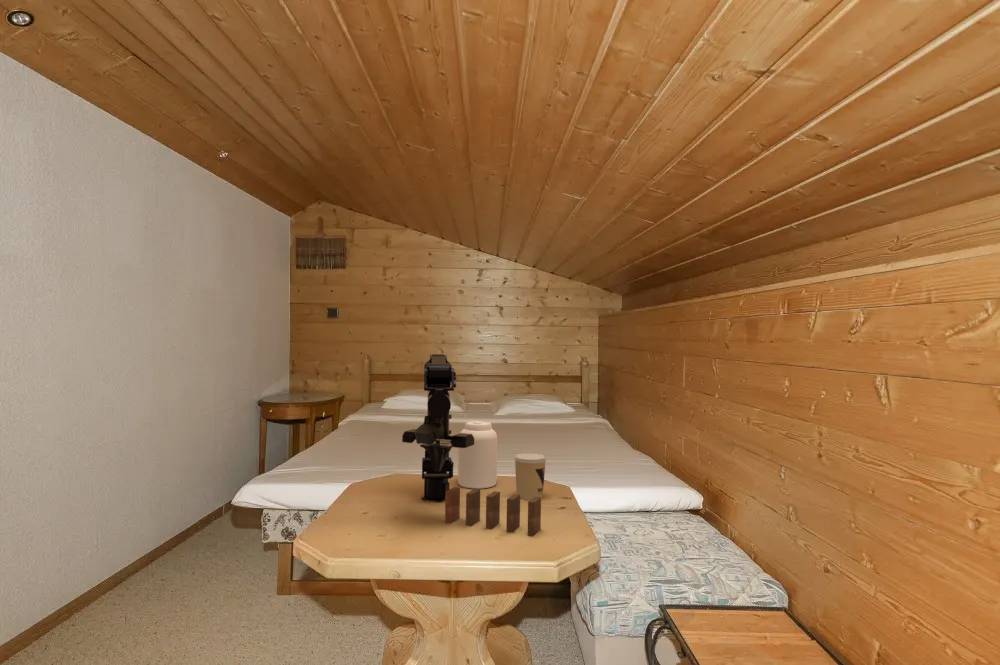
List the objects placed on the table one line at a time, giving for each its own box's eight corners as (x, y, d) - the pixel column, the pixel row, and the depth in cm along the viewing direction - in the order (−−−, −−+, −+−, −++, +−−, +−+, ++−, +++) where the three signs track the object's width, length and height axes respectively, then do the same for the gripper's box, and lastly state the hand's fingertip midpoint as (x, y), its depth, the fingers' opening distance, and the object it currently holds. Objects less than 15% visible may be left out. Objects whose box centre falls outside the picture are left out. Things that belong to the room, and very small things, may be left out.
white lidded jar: (457, 479, 188) (458, 419, 188) (494, 479, 189) (495, 419, 190) (458, 489, 176) (459, 425, 176) (498, 489, 177) (499, 425, 177)
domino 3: (485, 528, 140) (486, 496, 140) (493, 522, 145) (494, 491, 145) (491, 529, 140) (492, 496, 140) (499, 523, 144) (500, 492, 144)
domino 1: (445, 523, 144) (445, 491, 144) (454, 517, 149) (454, 486, 149) (450, 523, 143) (451, 492, 143) (459, 518, 148) (460, 487, 148)
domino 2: (465, 525, 142) (466, 493, 142) (474, 519, 147) (474, 488, 147) (471, 526, 142) (472, 494, 142) (479, 520, 146) (480, 489, 146)
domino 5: (527, 535, 136) (528, 501, 136) (534, 528, 141) (534, 496, 141) (533, 536, 135) (534, 502, 136) (540, 529, 140) (541, 497, 140)
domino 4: (506, 531, 138) (506, 498, 138) (513, 525, 143) (514, 493, 143) (512, 532, 138) (512, 499, 138) (519, 526, 142) (520, 494, 142)
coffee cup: (543, 502, 164) (543, 460, 164) (511, 499, 166) (512, 458, 166) (547, 493, 173) (547, 454, 173) (516, 491, 175) (517, 452, 175)
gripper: (390, 412, 145) (389, 474, 145) (456, 417, 138) (455, 482, 138) (413, 408, 155) (412, 465, 155) (475, 412, 148) (474, 472, 148)
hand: (437, 471), depth 149 cm, fingers closed
